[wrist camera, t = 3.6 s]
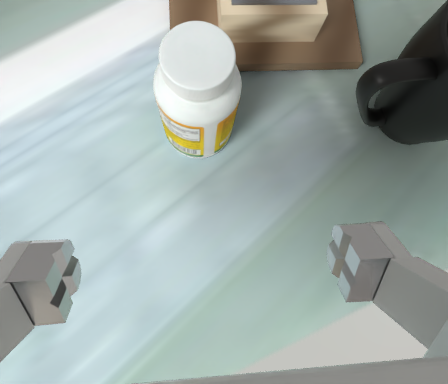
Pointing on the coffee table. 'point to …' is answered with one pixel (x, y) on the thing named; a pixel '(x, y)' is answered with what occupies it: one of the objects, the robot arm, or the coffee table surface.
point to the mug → (411, 87)
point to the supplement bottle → (197, 88)
